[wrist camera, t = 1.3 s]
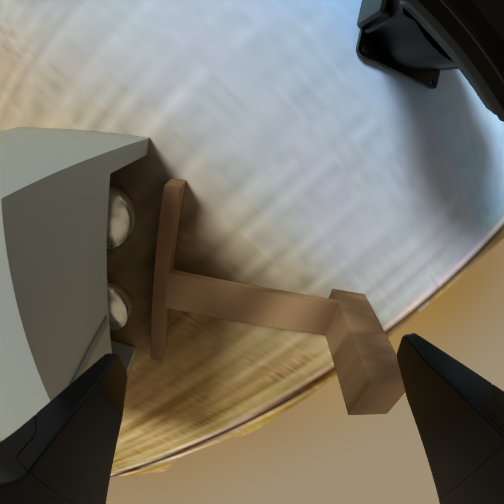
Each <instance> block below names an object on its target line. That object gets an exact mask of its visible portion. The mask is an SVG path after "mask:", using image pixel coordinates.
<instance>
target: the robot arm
mask: <svg viewBox="0 0 504 504" xmlns="http://www.w3.org/2000/svg"><path fill="white" fill-rule="evenodd" d="M357 25H358V27H359V28H360V33H359V38H358V42H357V46H356V52H357V54H358V55H359V56H360V57H362V58H365V59H367V60H370V61H372V62H375V63H377V64H379V65H382V66H384V67H386V68H388V69H391V70H393V71H395V72H397V73H399V74H401V75H403V76H405V77H407V78H409V79H411V80H413V81H415V82H417V83H419V84H421V85H423V86H425V87H427V88H429V89H434V88H436V87H437V84H438V79H439V74H440V70H450V69H459V70H460V71H461V72H462V74H463V75H464V76H465V78H466V79H467V80H468V82H469V83H470V85H471V86H472V87H473V89H474V90H475V92H476V93H477V95H478V96H479V98H480V99H481V101H482V102H483V104H484V105H485V107H486V108H487V109H488V110H490V111H491V112H492V113H494V114H495V115H497V116H498V118H499V120H501V121H503V122H504V0H362V4H361V8H360V13H359V17H358V22H357ZM361 48H365V49H366V53H363V52H362V49H361ZM429 80H431V81H432V84H430V83H429ZM397 361H398V365H399V369H400V372H401V376H402V380H403V384H404V388H405V392H406V396H407V399H408V402H409V405H410V407H411V410H412V413H413V416H414V419H415V422H416V425H417V428H418V431H419V434H420V437H421V440H422V442H423V446H424V449H425V452H426V455H427V458H428V462H429V465H430V469H431V472H432V475H433V479H434V482H435V486H436V489H437V493H438V497H439V502H440V504H504V391H502V390H501V389H499V388H498V387H496V386H495V385H492V384H491V383H490V382H489V381H487V380H486V379H484V378H482V377H481V376H480V375H478V374H477V373H475V372H473V371H472V370H470V369H469V368H468V367H466V366H464V365H463V364H462V363H460V362H458V361H457V360H455V359H454V358H452V357H451V356H449V355H448V354H446V353H445V352H443V351H442V350H440V349H439V348H437V347H435V346H434V345H432V344H431V343H429V342H428V341H426V340H425V339H423V338H422V337H420V336H418V335H417V334H415V333H412V334H407V335H404V336H403V337H402V340H401V343H400V346H399V349H398V352H397ZM126 384H127V371H126V368H125V366H124V364H123V362H122V360H121V358H120V356H119V355H118V354H115V353H107V354H105V355H104V356H102V357H101V358H100V359H99V360H98V361H97V362H95V363H94V364H93V365H92V366H91V367H90V368H88V369H87V370H86V371H85V372H84V373H83V374H81V375H80V376H79V377H78V378H77V379H76V380H74V381H73V382H72V383H71V384H70V385H69V386H67V387H66V388H65V389H64V390H63V391H62V392H60V393H59V394H58V395H57V396H56V397H55V398H54V399H52V400H51V401H50V402H49V403H48V404H47V405H45V406H44V407H43V408H42V409H41V410H40V411H39V412H37V413H36V415H34V416H33V417H32V418H30V419H29V420H28V421H27V422H26V423H25V424H23V425H22V426H21V427H20V428H19V429H17V430H16V431H15V432H13V433H12V434H11V435H9V436H8V437H7V438H5V439H4V440H2V441H1V442H0V504H106V498H107V492H108V486H109V480H110V474H111V469H112V464H113V459H114V453H115V449H116V444H117V439H118V434H119V430H120V425H121V421H122V416H123V408H124V400H125V392H126Z"/></svg>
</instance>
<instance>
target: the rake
mask: <svg viewBox="0 0 504 504" xmlns="http://www.w3.org/2000/svg"><path fill="white" fill-rule="evenodd" d="M185 185H186V181H185V180H180V179H174V178H172V179H171V180H169V181H168V182H167V183H166V184H165V185H164V188H163V195H162V203H161V211H160V219H159V228H158V237H157V247H156V258H155V270H154V283H153V299H152V320H151V359H155V360H160V361H162V358H163V354H164V351H165V348H166V344H167V330H168V318H169V308H170V309H175V310H180V311H184V312H189V313H194V314H199V315H204V316H209V317H214V318H220V319H225V320H231V321H236V322H242V323H248V324H254V325H260V326H266V327H272V328H279V329H286V330H293V331H300V332H307V333H314V334H322V335H326V339H327V342H328V345H329V349H330V352H331V355H332V359H333V362H334V366H335V369H336V372H337V376H338V379H339V383H340V386H341V390H342V394H343V397H344V401H345V404H346V408H347V411H348V415H362V414H385V413H388V412H389V411H390V409H391V408H392V407H393V406H394V405H395V403H396V402H397V401H398V400H399V399H400V397H401V396H402V395H403V394H404V393H405V388H404V384H403V380H402V376H401V372H400V369H399V365H398V361H397V355H396V353H395V351H394V349H393V347H392V345H391V343H390V341H389V339H388V337H387V335H386V333H385V332H384V330H383V328H382V326H381V324H380V322H379V320H378V318H377V316H376V315H375V313H374V311H373V309H372V307H371V305H370V304H369V302H368V300H367V298H366V296H365V295H364V294H359V293H353V292H348V291H342V290H336V289H332V291H331V294H330V296H329V299H327V298H321V297H315V296H309V295H304V294H298V293H292V292H286V291H281V290H275V289H270V288H264V287H259V286H254V285H248V284H243V283H238V282H233V281H228V280H222V279H217V278H212V277H207V276H202V275H197V274H192V273H188V272H183V271H178V270H173V269H174V261H175V253H176V245H177V237H178V230H179V223H180V216H181V210H182V203H183V197H184V191H185Z"/></svg>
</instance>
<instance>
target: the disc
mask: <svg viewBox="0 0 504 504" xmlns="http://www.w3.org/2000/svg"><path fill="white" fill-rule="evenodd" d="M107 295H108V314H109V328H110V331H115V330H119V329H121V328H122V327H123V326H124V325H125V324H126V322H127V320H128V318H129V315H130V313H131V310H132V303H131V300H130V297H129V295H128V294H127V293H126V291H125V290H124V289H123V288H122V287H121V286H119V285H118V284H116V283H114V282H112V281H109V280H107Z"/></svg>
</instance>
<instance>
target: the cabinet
mask: <svg viewBox="0 0 504 504" xmlns="http://www.w3.org/2000/svg"><path fill="white" fill-rule="evenodd" d="M148 144H149V138H147V137H139V136H131V135H123V134H114V133H105V132H94V131H82V130H69V129H52V128H25V127H18V128H14V129H9V130H4V131H0V439H1V440H4V439H5V438H7V437H8V436H9V435H11V434H12V433H13V432H15V431H16V430H17V429H19V428H20V427H21V426H22V425H23V424H25V423H26V422H27V421H28V420H29V419H30V418H32V417H33V416H34V415H36V413H37V412H39V411H40V410H41V409H42V408H43V407H44V406H45V405H47V404H48V403H49V402H50V401H51V400H52V399H54V398H55V397H56V396H57V395H58V394H59V393H60V392H62V391H63V390H64V389H65V388H66V387H67V386H69V385H70V384H71V383H72V382H73V381H74V380H76V379H77V378H78V377H79V376H80V375H81V374H83V373H84V372H85V371H86V370H87V369H88V368H90V367H91V366H92V365H93V364H94V363H95V362H97V361H98V360H99V359H100V358H101V357H102V356H104V355H105V354H107V353H115V354H118V355H119V356H120V358H121V360H122V362H123V364H124V366H125V368H126V371H127V378H128V375H129V372H130V370H131V367H132V364H133V361H134V359H135V356H136V349H135V347H133V346H129V345H126V344H122V343H118V342H114V341H111V339H110V328H109V314H108V295H107V218H108V199H109V185H110V174H111V173H113V172H114V171H116V170H118V169H120V168H122V167H124V166H126V165H128V164H130V163H132V162H134V161H136V160H138V159H140V158H142V157H144V156H146V155H147V150H148Z"/></svg>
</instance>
